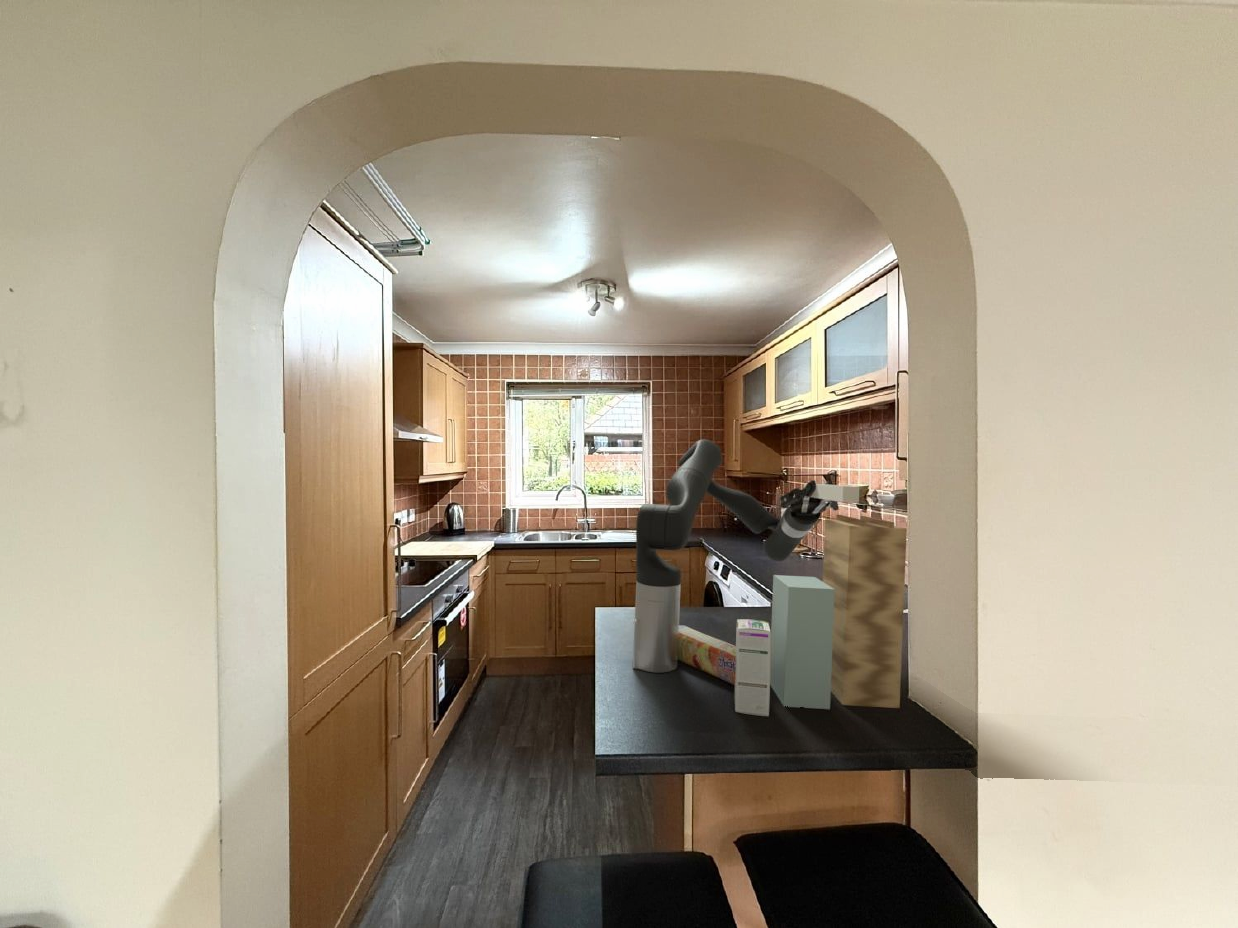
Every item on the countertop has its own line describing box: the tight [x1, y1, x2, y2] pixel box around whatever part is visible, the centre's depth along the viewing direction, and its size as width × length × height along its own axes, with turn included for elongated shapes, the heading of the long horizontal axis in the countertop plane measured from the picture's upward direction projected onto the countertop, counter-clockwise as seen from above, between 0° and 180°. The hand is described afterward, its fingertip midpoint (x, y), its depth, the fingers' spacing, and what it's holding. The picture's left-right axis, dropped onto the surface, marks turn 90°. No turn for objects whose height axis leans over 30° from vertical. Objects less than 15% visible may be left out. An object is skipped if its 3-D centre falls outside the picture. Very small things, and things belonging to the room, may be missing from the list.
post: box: [770, 574, 835, 710], centre depth 95 cm, size 8×10×21 cm
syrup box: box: [734, 618, 771, 717], centre depth 90 cm, size 6×6×14 cm
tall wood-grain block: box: [822, 514, 907, 709], centre depth 98 cm, size 10×12×33 cm
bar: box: [803, 482, 860, 504], centre depth 108 cm, size 3×23×3 cm, turn 178°
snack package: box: [677, 625, 736, 686], centre depth 105 cm, size 21×7×7 cm, turn 39°
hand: (822, 484), depth 112 cm, fingers closed on bar, 3 cm apart
